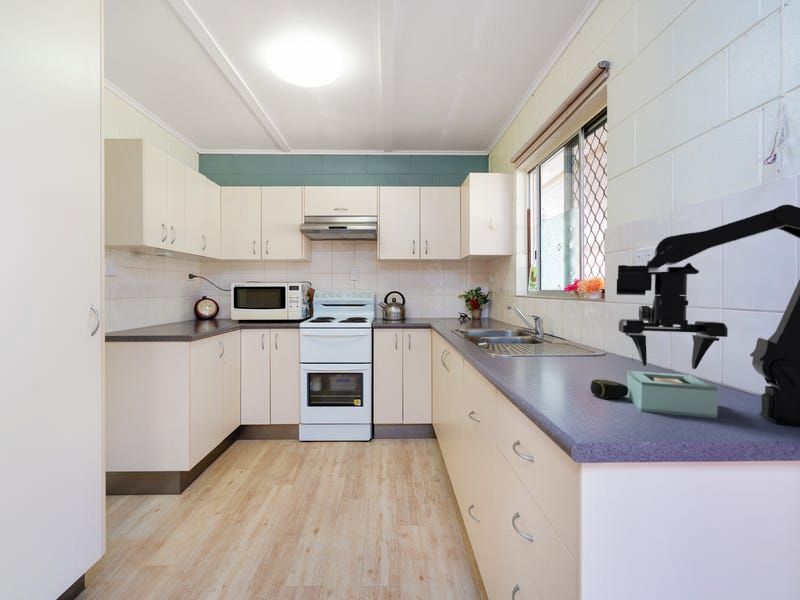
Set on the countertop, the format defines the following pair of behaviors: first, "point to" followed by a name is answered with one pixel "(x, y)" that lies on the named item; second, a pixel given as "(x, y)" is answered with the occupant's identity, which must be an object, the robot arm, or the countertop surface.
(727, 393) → the countertop surface
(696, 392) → the teal box
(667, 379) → the pine block
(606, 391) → the tape measure
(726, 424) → the countertop surface
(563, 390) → the countertop surface
